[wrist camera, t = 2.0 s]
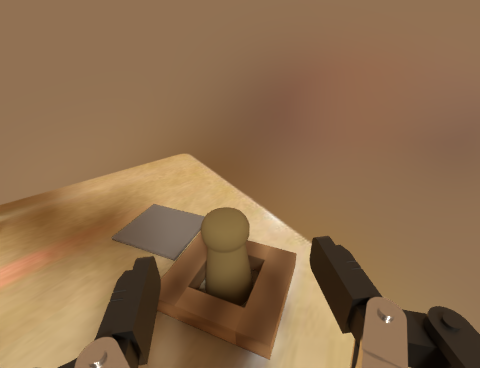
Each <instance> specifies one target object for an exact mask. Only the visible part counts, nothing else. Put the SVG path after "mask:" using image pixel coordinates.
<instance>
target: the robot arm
mask: <svg viewBox="0 0 480 368" xmlns="http://www.w3.org/2000/svg"><path fill="white" fill-rule="evenodd" d="M310 266H311V269H312V272H313V274H314V276H315V278H316V280H317V282H318V284H319V286H320V288H321V290H322V292H323V294H324V296H325V298H326V300H327V302H328V304H329V307H330V309H331V311H332V313H333V315H334V317H335V319H336V321H337V323H338V325H339V327H340V329H341V331H342V333H343V334H344V333H350V332H351V333H352V334H353V336H354V338H355V340H354V344H353V350H352V357H351V363H350V368H408V367H411V368H480V334H479V333H478V332H477V331H476V330H475V329H474V328H473V327H472V326H471V325H470V323H469V322H468V321H467V320H466V319H465V318H463V317H462V316H461V315H460V314H458V313H456V312H455V311H453V310H451V309H448V308H445V307H440V306H438V307H437V306H436V307H432V308H431V309H430V310H429V311H428V313H427V314H425V313H418V312H412V311H407V310H403V309H401V308H400V307H399V306H398V305H397V304H395V303H394V302H393V301H391V300H389V299H386V298H383V297H382V296H381V294H380V293H379V292H378V290H377V289H376V287H375V286H374V285H373V283H372V282H371V281H370V279H369V278H368V276H367V275H366V274H365V272H364V271H363V270H362V269H361V267H360V265H359V264H358V263H357V262H356V260H355V259H354V257H353V256H352V254H351V253H350V252H349V251H348V250H347V249H345V248H344V247H343V246H341V245H335V244H334V242H333V241H332V239H331V238H330V237H329V236H323V237H315V238H313V240H312V246H311V253H310ZM160 290H161V279H160V275H159V271H158V268H157V265H156V261H155V258H154V256H151V257H142V258H137V259H136V261H135V264H134V267H133V270H129V271H125V272H124V273H123V274H122V276H121V277H120V278H119V279H118V281H117V283H116V286H115V288H114V291H113V293H112V296H111V299H110V302H109V304H108V307H107V309H106V312H105V314H104V317H103V320H102V322H101V325H100V328H99V330H98V333H97V335H96V338H95V340H94V341H93V342H92V343H90V344H89V345H88V346H87V347H86V348H84V350H83V351H82V352H81V353H80V355H79V356H78V358H76V359H75V360H73V361H71V362H69V363H67V364H65V365H62V366H60V367H58V368H138V365H145V364H147V361H148V356H149V350H150V345H151V339H152V334H153V328H154V323H155V318H156V312H157V307H158V301H159V296H160Z"/></svg>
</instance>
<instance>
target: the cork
mask: <svg viewBox="0 0 480 368" xmlns="http://www.w3.org/2000/svg"><path fill="white" fill-rule="evenodd" d="M200 230H201V235H202V239H203V241H204V243H205V244H206V246H207V263H206V284H205V291H206V294H209V295H211V296H214V297H217V298H219V299H222V300H225V301H227V302H230V303H233V304H235V305H238V306H241V305H243V304H244V303H246V302H247V301H248V299H249V297H250V294H251V292H252V290H253V280H252V275H251V270H250V265H249V259H248V254H247V249H246V244H245V243H246V241H247V239H248V237H249V222H248V220H247V218H246V216H245V215H244V214H243V213H242V212H241V211H239V210H237V209H234V208H218V209H215V210H213V211H211V212H209V213H208V214H207V215H206V216H205V218H204V219H203V221H202V224H201V229H200Z"/></svg>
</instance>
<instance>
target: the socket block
mask: <svg viewBox="0 0 480 368" xmlns="http://www.w3.org/2000/svg"><path fill="white" fill-rule="evenodd" d="M245 244H246V249H247V254H248V259H249V265H250V269H252V270H256V271H259V272H260V273H259V275H258V278H257V280H256V282H255V285H254V287H253V290H252V292H251V294H250V297H249V299H248V301H247V304H246V306H245V308H243V307H241V306H238V305H235V304H233V303H230V302H227V301H225V300H222V299H219V298H217V297H214V296H211V295H209V294H206V293H203V292H201V291H198V288H199V286H200V285H201V283H202V282H203V280H204V279H205V277H206V263H207V246H206V244H205V243H204V241H203V239H202V235H201V232H200V233H199V234H198V235H197V236H196V238H195V239H194V240H193V241H192V243H191V244H190V245H189V246H188V247H187V249H186V250H185V251H184V252H183V253H182V255H181V256H180V257H179V258H178V259H177V261H176V262H175V263H174V264H173V265H172V267H171V268H170V269H169V270H168V272H167V273H166V274H165V275H164V276H163V278H162V279H161V290H160V296H159V301H158V307H157V311H159V312H162V313H164V314H166V315H168V316H171V317H173V318H175V319H178V320H180V321H182V322H184V323H187V324H189V325H191V326H194V327H196V328H198V329H200V330H203V331H205V332H207V333H210V334H212V335H214V336H217V337H219V338H221V339H223V340H226V341H228V342H230V343H233V344H235V345H237V346H239V347H242V348H244V349H246V350H249V351H251V352H253V353H255V354H258V355H260V356H262V357H265V358H267V359H269V360H270V356H271V353H272V349H273V345H274V342H275V338H276V334H277V331H278V327H279V323H280V320H281V316H282V312H283V309H284V305H285V301H286V298H287V294H288V290H289V287H290V283H291V279H292V276H293V272H294V268H295V262H296V253H293V252H289V251H285V250H282V249H278V248H274V247H270V246H267V245H263V244H259V243H255V242H252V241H248V240H247V241H246V243H245Z"/></svg>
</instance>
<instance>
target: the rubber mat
mask: <svg viewBox="0 0 480 368" xmlns="http://www.w3.org/2000/svg"><path fill="white" fill-rule="evenodd" d="M204 218H205V217H204V216H200V215H196V214H192V213H188V212H184V211H180V210H176V209H172V208H168V207H164V206H160V205H156V204H153V205H152V206H151V207H149V208H148V209H147V210H146V211H144V212H143V213H142V214H141V215H139V216H138V217H137V218H136V219H134V220H133V221H132V222H131V223H129V224H128V225H127V226H125V227H124V228H123V229H122V230H120V231H119V232H118V233H117V234H115V235H114V236H113V237H112V240H115V241H118V242H121V243H124V244H127V245H130V246H133V247H136V248H139V249H142V250H145V251H148V252H151V253H154V254H157V255H160V256H163V257H166V258H169V259H172V260H176V258H177V257H178V256H179V255H180V254H181V252H182V251H183V250H184V249H185V248H186V246H187V245H188V244H189V243H190V242H191V241H192V239H193V238H194V237H195V236H196V235H197V233H198V232H199V231H200V229H201V224H202V221H203V219H204Z"/></svg>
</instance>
